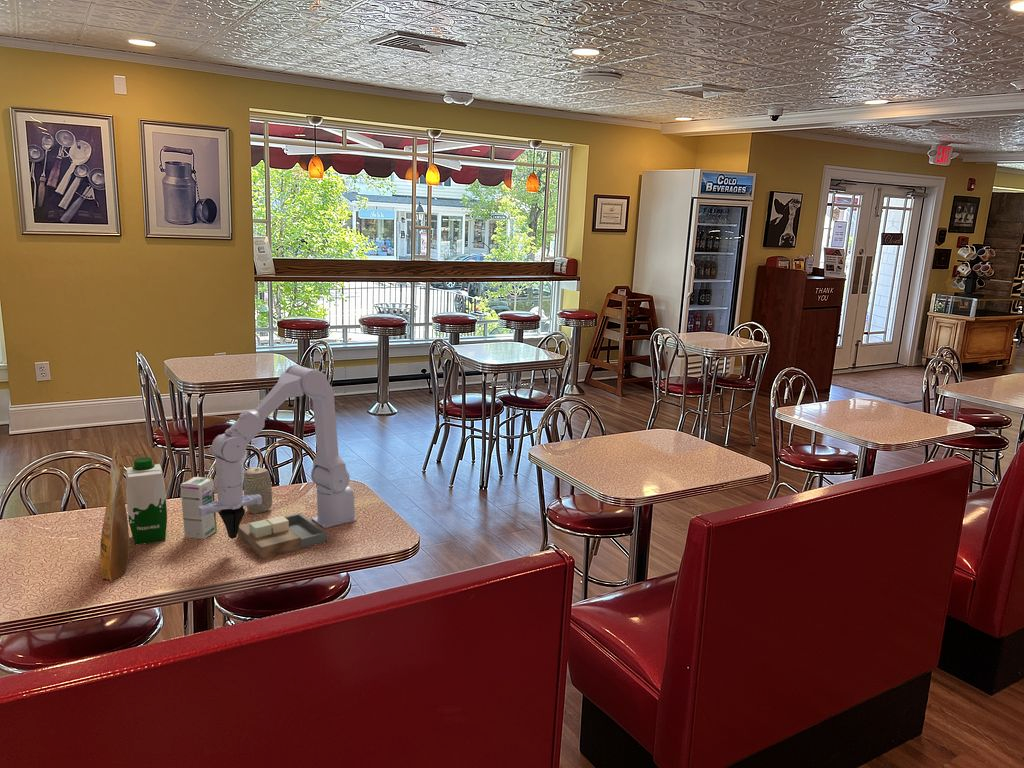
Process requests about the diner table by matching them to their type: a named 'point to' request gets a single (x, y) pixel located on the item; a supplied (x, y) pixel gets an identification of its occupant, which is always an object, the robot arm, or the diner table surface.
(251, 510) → the carving
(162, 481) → the milk carton
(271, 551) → the board
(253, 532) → the tile
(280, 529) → the tile
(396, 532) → the diner table surface
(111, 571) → the pancake mix bag
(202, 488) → the syrup box
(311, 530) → the box
